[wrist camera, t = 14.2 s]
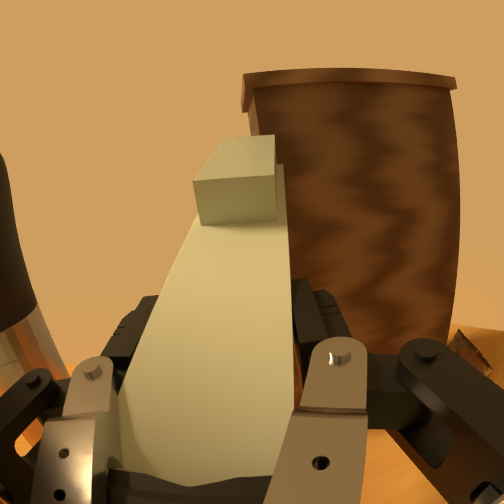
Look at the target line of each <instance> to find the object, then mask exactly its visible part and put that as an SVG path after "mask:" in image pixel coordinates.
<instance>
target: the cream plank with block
mask: <svg viewBox="0 0 504 504" xmlns="http://www.w3.org/2000/svg"><path fill="white" fill-rule="evenodd" d="M193 186H194V192H195V197H196V203H197V208H198V214H197V216H196V219H195V220H194V222H193V225H192V227H191V228H190V231H189V233H188V235H187V237H186V239H185V241H184V243H183V245H182V247H181V249H180V251H179V253H178V256H177V258H176V260H175V262H174V264H173V266H172V268H171V270H170V273H169V275H168V277H167V279H166V281H165V283H164V286H163V288H162V290H161V292H160V295H159V297H158V299H157V301H156V304H155V306H154V308H153V310H152V313H151V315H150V317H149V320H148V322H147V324H146V327H145V329H144V331H143V334H142V336H141V339H140V341H139V343H138V346H137V348H136V351H135V353H134V356H133V358H132V361H131V363H130V366H129V368H128V371H127V373H126V376H125V378H124V381H123V383H122V386H121V389H120V391H119V394H118V421H117V425H118V431H119V434H120V437H121V447H122V456H123V464H124V468H116V470H123V471H129V472H137V473H145V474H149V475H151V476H154V477H157V478H160V479H163V480H166V481H169V482H173V483H176V484H179V485H183V486H188V487H191V486H198V485H203V484H209V483H214V482H219V481H223V480H228V479H232V478H236V477H254V476H268V475H273V473H274V469H275V466H276V463H277V460H278V457H279V454H280V450H281V447H282V444H283V440H284V437H285V434H286V430H287V427H288V423H289V420H290V417H291V414H292V411H293V410H294V372H293V334H292V306H291V283H290V263H289V244H288V228H287V212H286V197H285V184H284V170H283V164H282V165H277V161H276V147H275V135H261V136H247V137H235V138H224V139H223V140H222V141H221V143H220V144H219V145H218V147H217V148H216V149H215V151H214V152H213V153H212V155H211V156H210V158H209V159H208V160H207V162H206V163H205V165H204V166H203V167H202V169H201V170H200V172H199V173H198V174H197V176H196V177H195V178H194V180H193ZM108 470H109V469H106V476H107V473H108Z"/></svg>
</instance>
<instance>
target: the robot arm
mask: <svg viewBox="0 0 504 504" xmlns="http://www.w3.org/2000/svg"><path fill="white" fill-rule="evenodd" d="M290 283H291V306H292V334H293V344H294V350H295V356H296V361H297V367H298V373H299V379H300V385H301V391H302V398H301V402H300V406H299V408H294V410H293V411H292V414H291V417H290V420H289V423H288V427H287V430H286V434H285V437H284V440H283V444H282V447H281V450H280V454H279V457H278V460H277V463H276V466H275V469H274V473H273V475H268V476H254V477H236V478H232V479H228V480H223V481H219V482H214V483H209V484H203V485H198V486H191V487H188V486H183V485H179V484H176V483H173V482H169V481H166V480H163V479H160V478H157V477H154V476H151V475H149V474H145V473H137V472H129V471H123V470H116V468H124V464H123V456H122V447H121V437H120V434H119V431H118V425H117V421H118V394H119V391H120V389H121V386H122V383H123V381H124V378H125V376H126V373H127V371H128V368H129V366H130V363H131V361H132V358H133V356H134V353H135V351H136V348H137V346H138V343H139V341H140V339H141V336H142V334H143V331H144V329H145V327H146V324H147V322H148V320H149V317H150V315H151V313H152V310H153V308H154V306H155V304H156V301H157V299H158V297H159V295H155V296H145V297H143V298H142V300H141V301H140V303H139V305H138V306H137V308H136V309H135V310H134V311H131V312H130V313H129V314H128V315H126V316H125V317H124V318H123V319H122V320H121V322H120V324H119V325H118V327H117V329H116V330H115V332H114V333H113V336H112V337H111V338H110V340H109V341H108V343H107V345H106V346H105V348H104V350H103V351H102V353H101V355H100V356H96V357H92V358H89V359H86V360H85V361H83V362H81V363H80V364H79V365H78V366H77V367H76V368H75V369H74V371H73V373H72V376H71V377H70V375H69V373H68V371H67V369H66V367H65V365H64V363H63V361H62V359H61V357H60V355H59V353H58V351H57V348H56V346H55V344H54V342H53V339H52V337H51V335H50V332H49V330H48V328H47V325H46V323H45V321H44V318H43V316H42V313H41V310H40V308H39V305H38V302H37V300H36V297H35V294H34V292H33V289H32V286H31V283H30V279H29V276H28V272H27V269H26V265H25V262H24V258H23V255H22V251H21V247H20V243H19V238H18V233H17V228H16V223H15V217H14V210H13V204H12V196H11V189H10V182H9V178H8V173H7V169H6V165H5V162H4V160H3V157H2V155H1V154H0V504H360V498H361V491H362V483H363V474H364V464H365V454H366V441H367V429H386V431H387V432H388V433H389V435H390V436H391V437H392V438H393V439H394V441H395V442H396V443H397V444H398V445H399V446H400V448H401V449H402V450H403V451H404V452H405V453H406V455H407V456H408V457H409V458H410V459H411V460H412V462H413V463H414V464H415V465H416V466H417V467H418V469H419V470H420V471H421V472H422V473H423V474H424V476H425V477H426V478H427V479H428V480H429V481H430V483H431V484H432V485H433V486H434V487H435V488H436V489H437V491H438V492H439V493H440V494H441V495H442V496H443V497H444V499H445V500H446V501H447V502H448V503H449V504H504V390H503V389H502V388H500V387H499V386H498V385H497V384H495V383H494V382H493V381H492V380H490V379H489V378H488V377H486V376H485V375H484V374H482V373H481V372H480V371H479V370H477V369H476V368H475V367H473V366H472V365H471V364H469V363H468V362H467V361H465V360H464V359H463V358H461V357H460V356H459V355H457V354H456V353H455V352H453V351H452V350H451V349H449V348H448V347H447V346H445V345H444V344H443V343H441V342H439V341H437V340H434V339H429V338H418V339H413V340H410V341H408V342H407V343H405V344H404V345H403V346H402V347H401V349H400V351H399V355H383V354H374V353H370V352H367V350H366V348H365V346H364V345H363V344H362V343H361V342H359V341H358V340H355V339H353V338H352V335H351V333H350V331H349V329H348V326H347V324H346V322H345V320H344V318H343V315H342V313H341V311H340V309H339V307H338V305H337V302H336V300H335V298H334V296H333V295H332V294H330V293H329V292H327V291H326V290H325V289H322V290H315V291H312V289H311V287H310V284H309V281H308V278H299V279H292V280H290ZM21 434H22V435H23V436H24V437H25V438H26V440H27V441H28V442H29V444H30V445H31V446H32V447H33V448H32V449H31V450H30V451H29V452H28V453H27V454H26V455H25V456H23V457H20V456H19V455H18V454H17V452H16V451H15V447H14V445H15V441H16V439H17V438H18V437H19V436H20V435H21ZM106 469H109V470H108V473H107V476H106Z"/></svg>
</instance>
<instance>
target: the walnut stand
mask: <svg viewBox="0 0 504 504" xmlns="http://www.w3.org/2000/svg"><path fill="white" fill-rule="evenodd" d="M454 89H457V86H456V81H455V77H450V76H443V75H436V74H429V73H420V72H411V71H401V70H387V69H369V68H368V69H367V68H311V69H293V70H292V69H291V70H278V71H266V72H257V73H249V74H243V81H242V95H241V108H242V112H243V113H245V112H248V118H249V124H250V131H251V136H261V135H275V147H276V161H277V165H282V164H283V170H284V184H285V197H286V212H287V228H288V244H289V263H290V280H292V279H299V278H308V281H309V284H310V287H311V289H312V291H315V290H322V289H325V290H326V291H327V292H329V293H330V294H332V295H333V296H334V298H335V300H336V302H337V305H338V307H339V309H340V311H341V313H342V315H343V318H344V320H345V322H346V324H347V326H348V329H349V331H350V333H351V335H352V338H353V339H355V340H358V341H359V342H361V343H362V344H363V345H364V346H365V348H366V350H367V352H370V353H374V354H383V355H399V351H400V349H401V347H402V346H403V345H404V344H405V343H407V342H408V341H410V340H413V339H418V338H429V339H434V340H437V341H439V342H441V343H443V344H444V345H445V346H446V344H447V339H448V333H449V328H450V322H451V316H452V310H453V303H454V295H455V287H456V278H457V267H458V255H459V237H460V179H459V161H458V148H457V138H456V129H455V122H454V114H453V107H452V101H451V96H450V90H454ZM293 372H294V408H299V406H300V402H301V398H302V391H301V385H300V379H299V373H298V367H297V361H296V356H295V350H294V344H293Z"/></svg>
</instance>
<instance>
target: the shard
mask: <svg viewBox="0 0 504 504" xmlns="http://www.w3.org/2000/svg"><path fill="white" fill-rule="evenodd" d="M448 348H449V349H451V350H452V351H453V352H455V353H456V354H457V355H459V356H460V357H461V358H463V359H464V360H465V361H467V362H468V363H469V364H471V365H472V366H473V367H475V368H476V369H477V370H479V371H480V372H481V373H482V374H484V375H485V376H486V377H487V376H488V375H490V374H491V372H492V371H493V369H492V367H491V366H490V364H489V363H488V362H487V360H486V359H484V358H483V356H482V354H481V353H480V352H479V351H478V349H477V348H476V347H475V346H474V345H473V344H472V343H471V342H470V341H469V340H468V339H467V338H466V337H465V336H464V334H463V333H462V332H461V331H460V330H459V329H458V331H457V332H456V334H455V336H454V339H453V340H452V342H451V343H450V344H449V345H448Z"/></svg>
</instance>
